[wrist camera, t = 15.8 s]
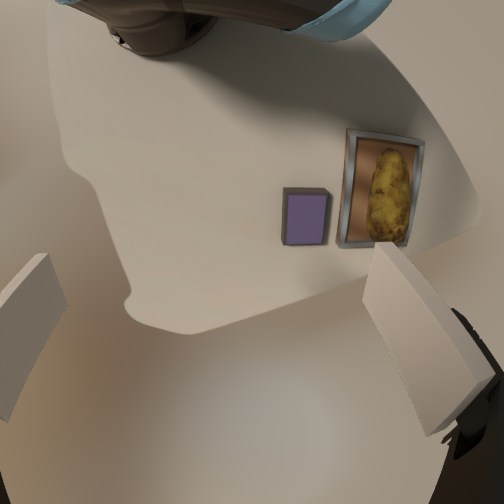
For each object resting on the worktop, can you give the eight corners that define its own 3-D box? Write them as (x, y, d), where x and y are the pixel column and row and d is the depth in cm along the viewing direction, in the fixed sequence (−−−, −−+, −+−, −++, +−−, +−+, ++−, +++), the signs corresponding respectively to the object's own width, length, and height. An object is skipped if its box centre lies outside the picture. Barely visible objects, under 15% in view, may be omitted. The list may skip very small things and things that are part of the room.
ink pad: (283, 187, 38) (285, 192, 36) (324, 187, 38) (329, 193, 36) (281, 239, 42) (283, 246, 40) (319, 238, 42) (323, 245, 40)
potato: (416, 167, 36) (447, 182, 29) (377, 235, 41) (400, 261, 34) (378, 139, 34) (408, 149, 27) (337, 214, 39) (357, 238, 32)
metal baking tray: (346, 128, 34) (351, 129, 32) (418, 139, 34) (424, 141, 33) (335, 242, 42) (339, 247, 41) (401, 241, 43) (406, 245, 41)
